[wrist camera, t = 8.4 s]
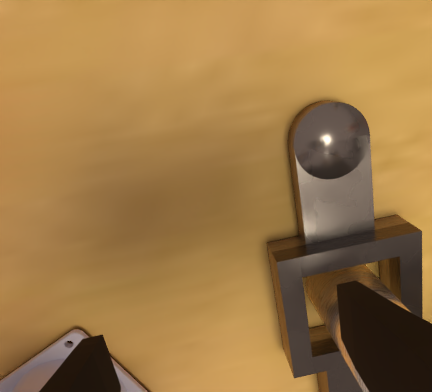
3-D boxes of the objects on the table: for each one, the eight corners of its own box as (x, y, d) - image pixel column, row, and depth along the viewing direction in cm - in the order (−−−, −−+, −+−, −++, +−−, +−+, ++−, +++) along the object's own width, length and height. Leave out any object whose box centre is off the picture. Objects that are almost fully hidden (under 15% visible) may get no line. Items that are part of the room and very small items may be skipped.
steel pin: (329, 320, 24) (410, 453, 16) (293, 281, 23) (359, 403, 15) (379, 282, 24) (491, 399, 15) (344, 240, 23) (444, 342, 14)
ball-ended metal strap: (403, 407, 27) (423, 437, 25) (296, 431, 27) (307, 464, 25) (393, 86, 20) (420, 88, 18) (246, 116, 20) (255, 122, 17)
